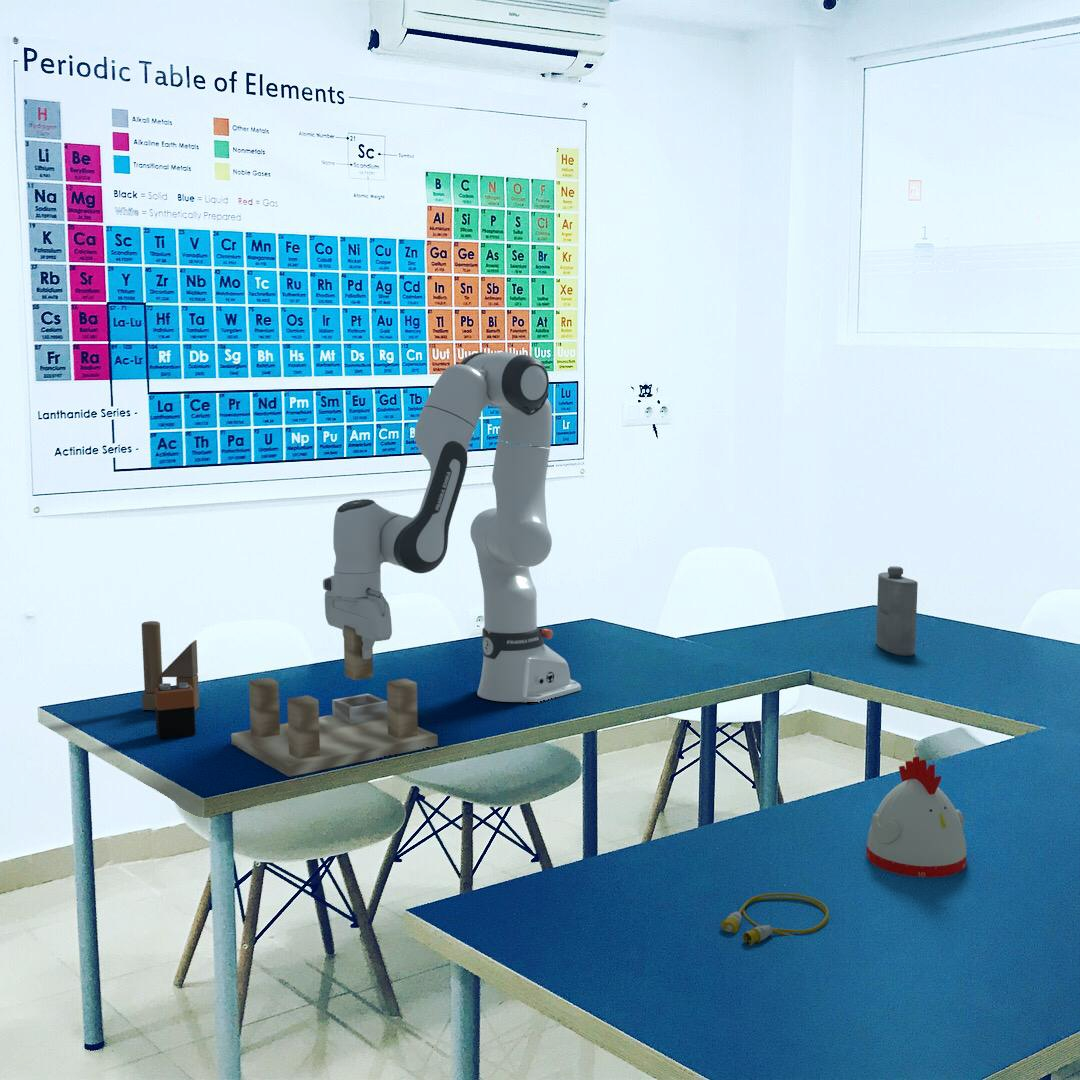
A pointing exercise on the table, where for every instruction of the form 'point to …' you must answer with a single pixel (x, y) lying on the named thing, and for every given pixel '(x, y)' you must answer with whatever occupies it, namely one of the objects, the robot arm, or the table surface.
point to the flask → (896, 612)
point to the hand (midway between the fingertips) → (358, 655)
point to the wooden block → (180, 667)
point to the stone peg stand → (331, 728)
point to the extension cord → (764, 931)
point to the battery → (175, 710)
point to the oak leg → (355, 656)
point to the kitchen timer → (917, 827)
